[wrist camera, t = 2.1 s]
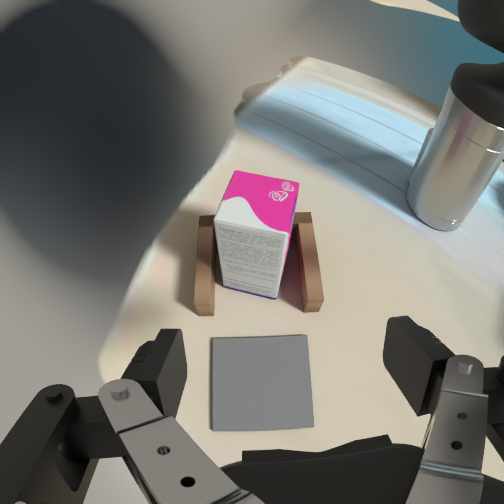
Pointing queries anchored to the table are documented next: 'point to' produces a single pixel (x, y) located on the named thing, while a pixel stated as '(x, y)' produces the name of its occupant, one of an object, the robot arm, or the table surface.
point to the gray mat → (261, 384)
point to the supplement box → (255, 232)
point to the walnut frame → (306, 258)
